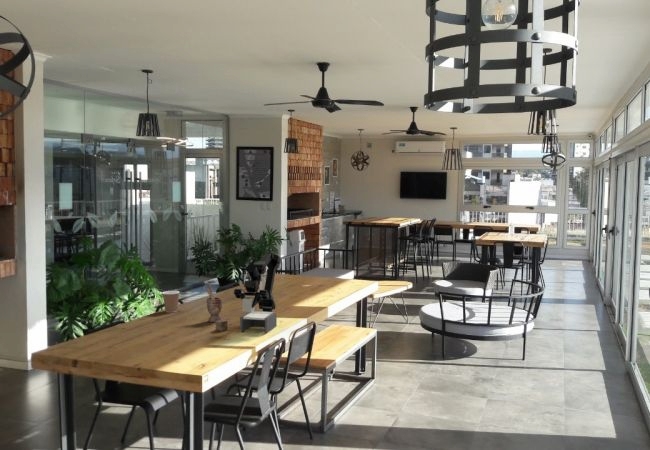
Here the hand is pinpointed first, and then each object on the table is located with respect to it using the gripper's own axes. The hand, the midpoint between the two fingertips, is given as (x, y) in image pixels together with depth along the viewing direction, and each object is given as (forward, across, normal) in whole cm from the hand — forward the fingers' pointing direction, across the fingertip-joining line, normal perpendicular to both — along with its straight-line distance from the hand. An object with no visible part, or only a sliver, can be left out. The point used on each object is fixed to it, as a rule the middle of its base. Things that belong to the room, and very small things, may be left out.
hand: (247, 307), depth 333 cm
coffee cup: (-17, -66, +37) cm, 77 cm away
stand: (+9, -16, +10) cm, 21 cm away
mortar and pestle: (-5, -30, +24) cm, 39 cm away
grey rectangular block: (+1, 0, +3) cm, 3 cm away
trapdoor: (+1, +3, +11) cm, 12 cm away
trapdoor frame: (+4, +3, +15) cm, 16 cm away
